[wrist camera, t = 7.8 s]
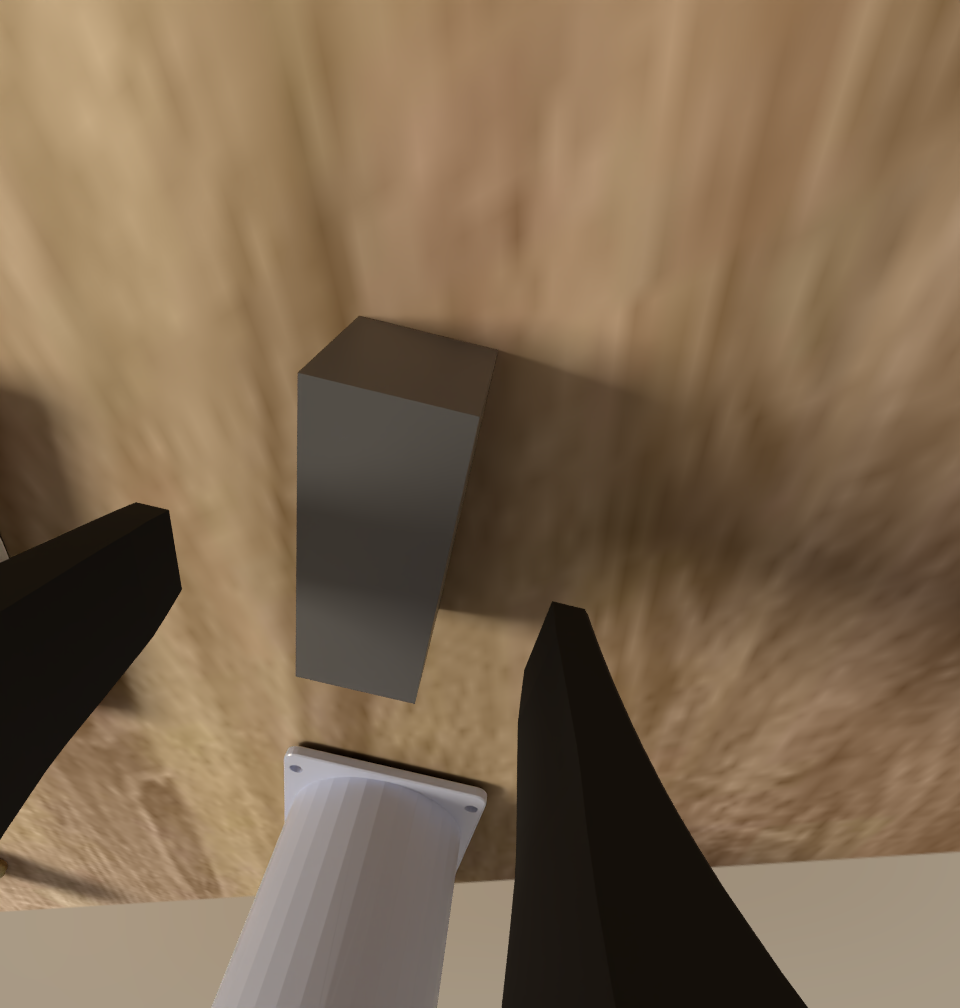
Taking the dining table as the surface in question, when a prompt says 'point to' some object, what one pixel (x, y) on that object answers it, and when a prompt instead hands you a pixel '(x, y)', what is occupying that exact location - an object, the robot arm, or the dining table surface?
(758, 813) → the dining table surface
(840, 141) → the dining table surface
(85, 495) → the dining table surface
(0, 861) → the chocolate bunny
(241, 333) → the dining table surface
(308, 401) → the lid
